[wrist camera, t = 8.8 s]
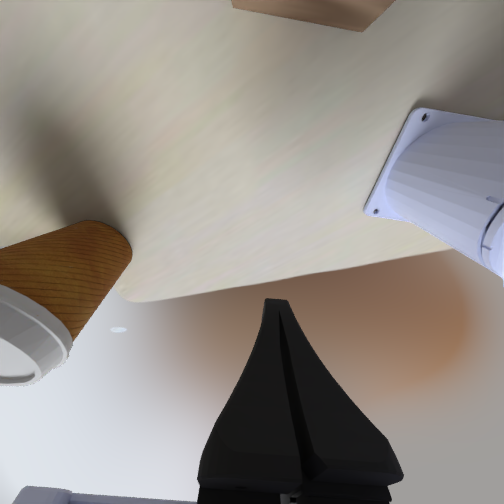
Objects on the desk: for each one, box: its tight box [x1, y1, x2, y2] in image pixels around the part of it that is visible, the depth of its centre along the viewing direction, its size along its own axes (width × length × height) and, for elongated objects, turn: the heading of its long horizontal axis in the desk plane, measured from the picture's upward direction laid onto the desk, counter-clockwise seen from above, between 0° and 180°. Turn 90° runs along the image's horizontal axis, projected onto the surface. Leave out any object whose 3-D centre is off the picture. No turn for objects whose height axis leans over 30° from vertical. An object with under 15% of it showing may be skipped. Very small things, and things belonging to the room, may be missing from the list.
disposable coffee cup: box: [0, 220, 132, 386], centre depth 16 cm, size 10×10×12 cm
